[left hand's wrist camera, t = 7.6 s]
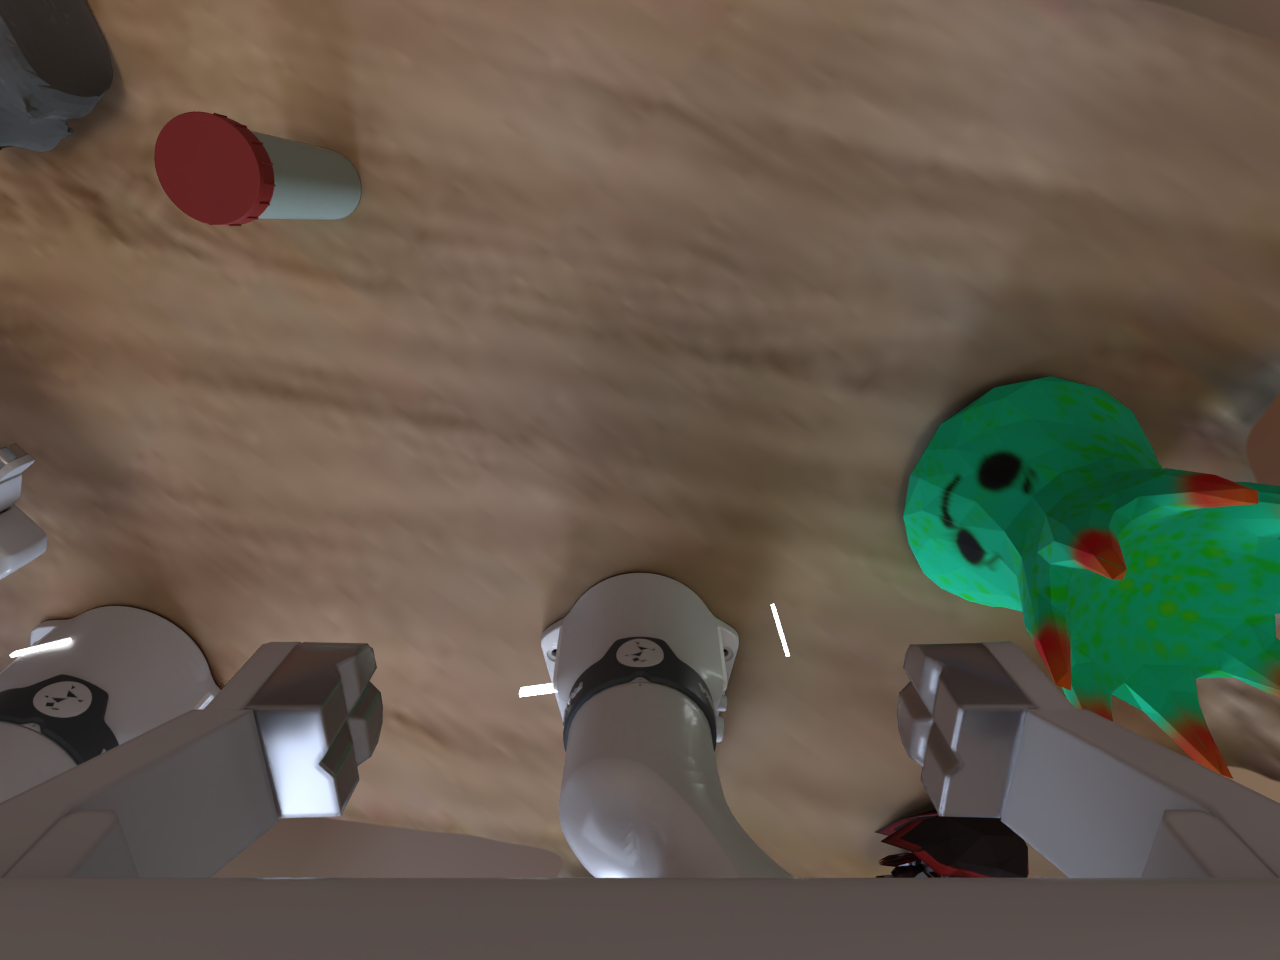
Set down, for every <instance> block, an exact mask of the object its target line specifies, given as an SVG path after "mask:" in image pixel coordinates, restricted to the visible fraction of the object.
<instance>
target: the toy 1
mask: <svg viewBox="0 0 1280 960" xmlns="http://www.w3.org/2000/svg"><path fill="white" fill-rule="evenodd" d="M1001 819H1002V818H982V817H947V816H939V815H938V813H937V811H936V810H934V811H930V812H926V813H922V814H918V815H914V816H910V817H906V818H903V819H901V820H898V821H896V822H894V823H892V824H890V825H888V826H886V827H884V828H882V829H880V830H878V831H876V833H880V834H884V835H888V837H887V838H885V839H884V840H882V841H881V842H884V843H887V844H890V845H893V846H896V847H899V848H903V849H906V850H909V851H911V852H912V853H908V852H907V853H902V854H896V855H889V856H887V857H885V858H883V859H881V860H883V861H881V860H879V861H881V863H880V862H879V863H880V864H881V865H884V866H894V867H895V869H894V870H893V871H892V872H891V873H892V875H883V876H876V877H875V878H949V877H950V878H1027V876H1028V874H1029V871H1028V847H1027V845H1026V843H1025V841H1024V840H1023V839H1022V838H1021V837H1020V836H1019V835H1017V834H1016V833H1015V832H1014V831H1013V830H1011V829H1010V828H1009V827H1008V826H1007V825H1005V824H1004V823H1003V822H1002V821H1001ZM884 859H885V860H884ZM891 859H892V860H891ZM884 861H885V862H884Z"/></svg>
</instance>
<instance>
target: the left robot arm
mask: <svg viewBox="0 0 1280 960" xmlns="http://www.w3.org/2000/svg"><path fill="white" fill-rule="evenodd" d="M771 608H772V611H773V614H774V618H775V621H776V624H777V628H778V631H779V634H780V637H781V641H782V644H783V647H784V651H785V654H786V657H788V656H790V655H789V651H788V648H787V645H786V641H785V638H784V635H783V631H782V628H781V625H780V621H779V618H778V615H777V611H776V608H775V605H774V604H771ZM541 647H542V650H543V654H544V657H545V661H546V664H547V668H548V671H549V674H550V678H551V681H552V683H551V684H543V685H536V686H529V687H521V689H520V693H519V696H520V697H525V696H532V695H539V694H547V693H554V692H555V695H556V699H557V702H558V706H559V709H560V712H561V716H562V719H563V727H564V731H563V741H564V747H565V751H566V756H565V763H564V770H563V778H562V785H561V792H560V800H559V817H560V823H561V827H562V830H563V833H564V835H565V838H566V840H567V842H568V844H569V845H570V847H571V849H572V850H573V852H574V853H575V855H576V856H577V858H578V859H579V861H580V862H581V863H582V864H583V866H584V867H585V868H586V869H587V870H588V871H589V872H590V873H591V874H592V875H593V876H594V877H596V878H211V877H212V876H213V875H214V874H216V873H217V872H218V871H219V870H221V869H222V868H223V867H224V866H225V865H227V864H228V863H229V862H230V861H231V860H233V859H234V858H235V857H236V856H238V855H239V854H240V853H241V852H242V851H244V850H245V849H246V848H247V847H248V846H250V845H251V844H252V843H253V842H254V841H256V840H257V839H258V838H259V837H260V836H262V835H263V834H264V833H265V832H266V831H268V830H269V829H270V828H271V827H273V826H274V825H275V824H276V823H277V822H278V821H279V819H278V818H297V817H331V816H341V815H342V813H343V811H344V809H345V807H346V805H347V803H348V801H349V799H350V797H351V795H352V793H353V791H354V789H355V787H356V785H357V783H358V782H359V774H358V768H357V766H358V765H360V764H361V763H363V762H364V761H366V760H367V759H368V758H370V757H371V756H372V754H373V752H374V749H375V747H376V745H377V743H378V740H379V736H380V731H381V727H382V721H383V705H382V698H381V692H380V691H379V690H378V689H377V688H376V687H375V686H374V685H373V684H372V683H371V682H370V679H371V677H372V675H373V674H374V672H375V670H376V668H377V666H376V661H375V656H374V651H373V649H372V648H371V647H370V646H369V645H368V644H367V643H322V642H303V643H301V642H270V643H266V644H263V645H262V646H261V647H260V648H259V649H258V650H257V651H256V652H255V653H254V654H253V655H252V656H251V658H250V659H249V660H248V661H247V662H246V663H245V664H244V665H243V666H242V667H241V669H240V670H239V671H238V672H237V673H236V674H235V675H234V676H233V677H232V679H231V680H230V681H229V682H228V683H227V684H226V685H225V686H224V687H223V688H222V690H221V691H220V692H219V693H218V694H217V695H216V696H215V697H214V698H213V699H212V701H211V702H210V703H209V704H208V705H207V706H206V707H205V708H204V709H192V710H190V711H188V712H186V713H184V714H182V715H180V716H178V717H176V718H174V719H172V720H170V721H168V722H166V723H164V724H162V725H160V726H158V727H156V728H153V729H151V730H149V731H147V732H145V733H143V734H141V735H139V736H137V737H135V738H133V739H131V740H129V741H127V742H125V743H123V744H121V745H119V746H117V747H115V748H112V749H110V750H108V751H106V752H104V753H102V754H100V755H98V756H96V757H94V758H92V759H90V760H88V761H86V762H84V763H82V764H80V765H78V766H76V767H74V768H71V769H69V770H67V771H65V772H63V773H61V774H59V775H57V776H55V777H53V778H51V779H49V780H47V781H45V782H43V783H41V784H39V785H37V786H35V787H33V788H30V789H28V790H26V791H24V792H22V793H20V794H18V795H16V796H14V797H12V798H10V799H8V800H6V801H4V802H2V803H0V960H1280V803H1278V802H1276V801H1274V800H1271V799H1269V798H1267V797H1265V796H1263V795H1261V794H1259V793H1257V792H1255V791H1253V790H1251V789H1249V788H1247V787H1245V786H1243V785H1241V784H1239V783H1237V782H1235V781H1233V780H1231V779H1229V778H1227V777H1225V776H1222V775H1220V774H1218V773H1216V772H1214V771H1212V770H1210V769H1208V768H1206V767H1204V766H1202V765H1200V764H1198V763H1196V762H1194V761H1192V760H1190V759H1188V758H1186V757H1184V756H1182V755H1180V754H1178V753H1175V752H1173V751H1171V750H1169V749H1167V748H1165V747H1163V746H1161V745H1159V744H1157V743H1155V742H1153V741H1151V740H1149V739H1147V738H1145V737H1143V736H1141V735H1139V734H1137V733H1135V732H1133V731H1131V730H1128V729H1126V728H1124V727H1122V726H1120V725H1118V724H1116V723H1114V722H1112V721H1110V720H1108V719H1106V718H1104V717H1102V716H1100V715H1098V714H1096V713H1094V712H1092V711H1090V710H1088V709H1076V708H1075V707H1074V706H1073V705H1072V704H1071V703H1070V702H1069V701H1068V699H1067V698H1066V697H1065V696H1064V695H1063V694H1062V693H1061V692H1060V691H1059V690H1058V688H1057V687H1056V686H1055V685H1054V684H1053V683H1052V682H1051V681H1050V680H1049V678H1048V677H1047V676H1046V675H1045V674H1044V673H1043V672H1042V671H1041V670H1040V669H1039V667H1038V666H1037V665H1036V664H1035V663H1034V662H1033V661H1032V660H1031V659H1030V658H1029V656H1028V655H1027V654H1026V653H1025V652H1024V651H1023V650H1022V649H1021V648H1020V647H1019V645H1017V644H1014V643H1012V642H1010V641H1009V642H981V643H958V644H910V645H909V647H908V650H907V652H906V654H905V660H904V666H903V668H904V670H905V672H906V674H907V675H908V677H909V679H910V682H909V683H908V684H907V685H906V686H905V687H904V688H903V689H902V690H901V691H900V692H899V699H898V707H897V717H898V728H899V733H900V736H901V740H902V743H903V745H904V747H905V750H906V752H907V754H908V756H909V757H910V758H912V759H913V760H914V761H916V762H917V763H919V764H920V765H922V766H923V768H922V774H921V782H922V783H923V785H924V787H925V789H926V791H927V793H928V795H929V797H930V799H931V801H932V803H933V805H934V807H935V809H936V811H937V813H938V815H939V816H947V817H982V818H1002V819H1001V821H1002V822H1003V823H1004V824H1005V825H1007V826H1008V827H1009V828H1010V829H1011V830H1013V831H1014V832H1015V833H1016V834H1017V835H1019V836H1020V837H1021V838H1022V839H1023V840H1025V841H1026V842H1027V843H1028V844H1029V845H1031V846H1032V847H1033V848H1034V849H1036V850H1037V851H1038V852H1039V853H1040V854H1042V855H1043V856H1044V857H1045V858H1046V859H1048V860H1049V861H1050V862H1051V863H1052V864H1054V865H1055V866H1056V867H1057V868H1058V869H1060V870H1061V871H1062V872H1063V873H1064V874H1066V875H1067V876H1068V877H1069V878H795V877H794V876H792V875H791V874H790V873H788V872H787V871H786V870H784V869H783V868H782V867H781V866H779V865H778V864H777V863H776V862H775V861H773V860H772V859H771V858H770V857H769V856H768V855H767V854H766V853H765V852H764V851H763V850H762V849H761V848H760V847H759V846H758V845H757V844H756V843H755V842H754V841H753V840H752V839H751V838H750V837H749V835H748V834H747V833H746V832H745V831H744V829H743V828H742V827H741V826H740V824H739V823H738V822H737V820H736V819H735V817H734V816H733V814H732V812H731V810H730V809H729V807H728V805H727V802H726V800H725V797H724V793H723V790H722V786H721V782H720V778H719V774H718V770H717V765H716V760H715V754H714V751H715V747H716V742H721V741H722V739H723V734H724V719H723V717H721V716H719V713H720V711H726V708H727V696H725V692H726V689H727V685H728V681H729V678H730V675H731V671H732V668H733V664H734V661H735V657H736V654H737V650H738V647H739V636H738V633H737V632H736V631H735V629H733V628H732V627H731V626H729V625H728V624H726V623H724V622H723V621H721V620H719V619H717V618H716V617H715V616H714V615H713V614H712V613H711V612H710V611H709V609H708V608H707V606H706V605H705V604H704V602H703V601H702V600H701V599H700V597H699V596H698V595H697V594H696V593H694V592H693V591H692V590H691V589H689V588H688V587H687V586H685V585H683V584H682V583H680V582H678V581H676V580H674V579H671V578H668V577H665V576H662V575H657V574H651V573H628V574H623V575H618V576H615V577H612V578H609V579H606V580H604V581H602V582H600V583H598V584H597V585H595V586H593V587H592V588H591V589H589V590H588V591H587V592H586V593H584V594H583V595H582V596H581V597H580V599H579V600H578V601H577V602H576V604H575V605H574V606H573V608H572V609H571V611H570V612H569V613H568V614H567V615H566V616H565V617H564V618H563V619H561V620H559V621H558V622H556V623H554V624H552V625H551V626H549V627H548V628H547V629H546V630H545V631H544V632H543V633H542V636H541ZM554 649H557V652H554V651H553V650H554ZM723 649H726V650H727V651H726V652H724V651H723Z"/></svg>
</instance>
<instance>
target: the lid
mask: <svg viewBox="0 0 1280 960" xmlns="http://www.w3.org/2000/svg"><path fill="white" fill-rule="evenodd" d="M272 165H273V163H271V160H270V158H269V155H268V153H267V151H266V150H265V148H264V146H263V143H262V142H260V141H259V139H258V138H257V137H256V136H255V135H254V134H253V133H252V132H251V131H250V130H249V129H247V126H245V125H242V124H240V123H238V122H236V121H234V120H231V119H229V118H227V116H224V115H220V114H216V113H214V114H210V113H205V112H188V113H184V114H181V115H178V116H177V117H175V118H173V119H172V120H170V121H169V122H168V123H167V124H166V125H165V126H164V128H163V129H162V131H161V132H160V134H159V136H158V139H157V142H156V146H155V167H156V171H157V175H158V178H159V181H160V183H161V185H162V187H163V189H164V191H165V192H166V194H167V195H168V197H169V198H170V199H171V201H172V202H173V203H174V204H175V205H176V206H177V207H178V208H179V209H180V210H182V211H183V212H184V213H186V214H187V215H188V216H190V217H192V218H194V219H196V220H198V221H201V222H204V223H207V224H210V225H229V226H242V225H241V224H245V223H248V222H250V221H252V220H255V219H259V218H258V217H259V216H260V215H261V214H262V213H263V212H264V211H265V210H266V208H267V207H268V206H270V201H271V199H272V196H273V192H274V187H275V186H276V185H274V183H275V181H274V171H273V166H272Z"/></svg>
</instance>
